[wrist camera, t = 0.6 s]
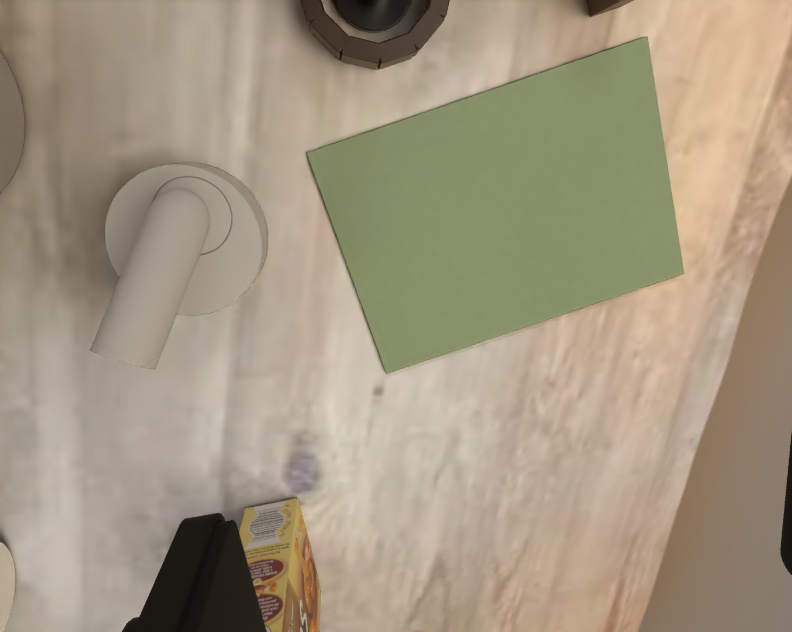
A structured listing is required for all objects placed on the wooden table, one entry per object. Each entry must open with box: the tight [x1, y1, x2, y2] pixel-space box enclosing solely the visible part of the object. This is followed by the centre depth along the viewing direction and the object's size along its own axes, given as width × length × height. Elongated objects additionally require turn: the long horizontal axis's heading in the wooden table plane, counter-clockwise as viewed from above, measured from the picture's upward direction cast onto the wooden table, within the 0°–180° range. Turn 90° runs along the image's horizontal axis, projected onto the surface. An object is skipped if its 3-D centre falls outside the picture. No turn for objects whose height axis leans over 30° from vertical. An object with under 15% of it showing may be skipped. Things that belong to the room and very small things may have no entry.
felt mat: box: [307, 37, 684, 374], centre depth 34 cm, size 15×21×1 cm
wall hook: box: [90, 163, 268, 369], centre depth 29 cm, size 9×10×10 cm
